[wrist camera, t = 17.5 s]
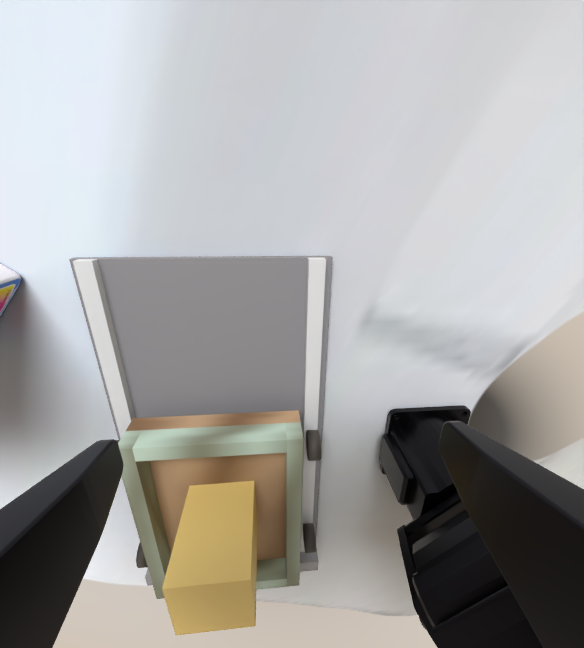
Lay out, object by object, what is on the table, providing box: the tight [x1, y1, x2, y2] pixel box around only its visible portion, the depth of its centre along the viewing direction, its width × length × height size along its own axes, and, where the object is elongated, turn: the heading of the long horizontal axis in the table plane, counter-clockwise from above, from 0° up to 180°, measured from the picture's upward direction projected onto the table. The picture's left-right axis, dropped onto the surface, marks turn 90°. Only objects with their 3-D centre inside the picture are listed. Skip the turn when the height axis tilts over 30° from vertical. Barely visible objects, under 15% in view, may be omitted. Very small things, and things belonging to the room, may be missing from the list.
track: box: [70, 256, 332, 585], centre depth 22 cm, size 15×28×2 cm, turn 0°
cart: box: [117, 410, 321, 599], centre depth 22 cm, size 14×15×3 cm
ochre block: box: [162, 481, 258, 635], centre depth 19 cm, size 4×4×6 cm
